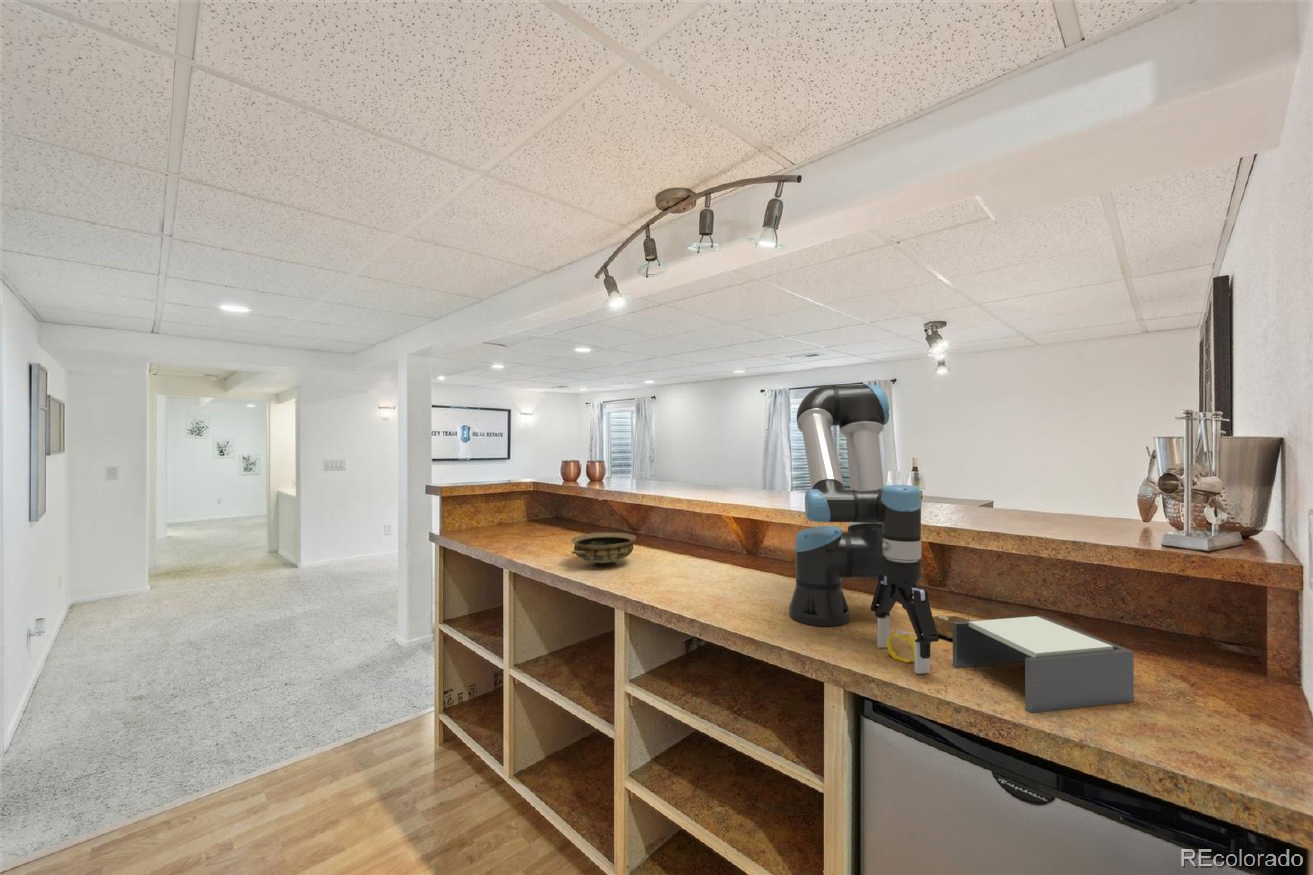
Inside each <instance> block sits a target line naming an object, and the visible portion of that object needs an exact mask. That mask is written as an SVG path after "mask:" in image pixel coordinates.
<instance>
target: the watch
mask: <svg viewBox="0 0 1313 875" xmlns="http://www.w3.org/2000/svg"><path fill="white" fill-rule="evenodd" d="M894 637H896V638H899V639H901V638H902V639H905V640H907V642H909V644H910V647H911V648H912V656H911V658H910V659H909V658H904V657H902V656H899V655H898V654H897V653H896V652H895V651H894V649H893V646H892V642H893V641H892V639H893V638H894ZM886 648H887V650H888V653H889V655H890V656H891V657H892V658H893V659H894V660H897V661H898V660H899V661H901V662H904V663H907V664H908V663H910V662H912V661H915V639H913V638H912V637H911V636H910V634H909V632H908V631H906V630H895V631H894V633H891V634H890V637H889V638H888V640H887V647H886Z"/></svg>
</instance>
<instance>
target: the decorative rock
mask: <svg viewBox="0 0 1313 875" xmlns="http://www.w3.org/2000/svg"><path fill="white" fill-rule="evenodd" d="M933 619H934V623H935V627H936V630H937V634H938V636H940V637H946V638H947V639H948V640H950V639H952V640H953V622H962V621H973V620H970V619H969V618H965V617H961V616H959V615H935V616H934V615H933Z"/></svg>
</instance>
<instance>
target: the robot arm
mask: <svg viewBox="0 0 1313 875" xmlns="http://www.w3.org/2000/svg"><path fill="white" fill-rule="evenodd" d="M889 411H890V403H889V399H888V396H887V393H886V392H885V390H884V388H883V387H881V386H880V385H878V384H867V383H862V384H844V385H843V384H842V385H840V384H839V385H836V384H835V385H831V384H828V385H822V386H819V387H817V388H815V389H813V390H812V391H810V392H808V393H807V394H806V396H804V398H803V399H802V401H801V403H799V406H798V408H797V413H796V424H797V429H798V430H799V431H800V432H801V433H802V438H803V444H804V450H805V458H806V462H807V470H808V474H809V481H810V482H809V483H810V488H811V489H807V490H806V492H805V495H804V513H805V517H806V519H807V520H808V521H810V522H816V523H817V522H818V523H825V524H826V523H827V524H828V523H849V524H848V526H847V532H844V531H843V530H842V528H841V527H840V526H836V525H818V526H817V525H816V526H811V527H808V528H804V529H801V530H800V531H798V532H797V534H796V536H795V537H796V538H795V546H794V551H795V588H794V590H793V594H792V596H791V600H790V603H789V607H788V608H789V612H788V613H789V614H788V615H789V617H791V619H793V620H795V621H796V622H799V623H801V624H805V625H810V626H814V627H815V626H816V627H817V626H818V627H836V626H841V625H844V624H847V623H848V622H849V621H850V608H849V605H848V603H847V599H846V596H845V594H844V590H843V579H871V580H874V579H875V580H877V584H876V588H875V591H874V594H873V597H872V602H871V604H870V611H871V612H874V615H875V617H876V624H877V626H876V629H877V631H876V632H877V636H876V638H877V648H879V649H882V648H887V640H888V638H889V637H890V635H891V617H890V616H891V614H890V612H891V611H892V609H893V608H894V607H895V604H896V603H899V605H901V606H902V608H903V609H904V610H905V611H906V613H907V616H908V618H909V621H910V623H911V626H912V628H913V631H914V633H915V635H916V639H914V642H915V659H914V673H915V674H917V675H918V674H919V675H920V674H930V671H931V670H930V659H931V644H932V643H934V642H935V643H936V642H939V635H938V634H937V630H936V627H935V623H934V619H933V617H934V615H933V613H932V609H931V606H930V602H929V600H930V599H929V591H928V589H919V587H918V586H917V582H918V581H919V580H920V579H921V578H922V562H921V560H920V559H921V558H922V537H921V536H922V507H923V506H922V505H923V504H922V503H923V502H922V499H921V490H920V488H919V487H917V486H915V485H908V484H907V485H906V484H889V485H885V484H884V474H883V465H882V463H883V462H882V455H881V446H880V436H879V435H880V434H881V433H882V431H883V430H884V426H885V425H887V424H888V423H889V420H890V412H889ZM832 426H833V427H834V426H835V427H836V426H838V427H839V433H840V434H841V435H842V436H844V437H845V441H846V442H845V443H846V454H847V464H848V467H847V468H848V476H849V477H848V478H849V489H845V485H844V482H843V476H842V472H841V468H840V464H839V459H838V458H839V457H838V454H837V448H836V446H835V441H834V436H833V432H832V428H833V427H832Z"/></svg>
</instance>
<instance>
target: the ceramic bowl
mask: <svg viewBox="0 0 1313 875" xmlns="http://www.w3.org/2000/svg"><path fill="white" fill-rule="evenodd" d="M636 538H637V537H636V535H634V534H629V533H623V532H593V533H585V534H580V535H577V536H575V537H573V538H571V539H570V542H572V543H573V545H574V546H573V550H572V551H571V553H572V555H576V556H577V557H578V558H580V559H582V560H584V561H587V562H590V563H593V566H594V567H597V568H598V567H599V568H609V567H614V566H615V565H616V562H617V561H620V560H623V559H625V558H626V557H628V556H630V555H631V554H632V552H633V550H634V541H635V540H636Z"/></svg>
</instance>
